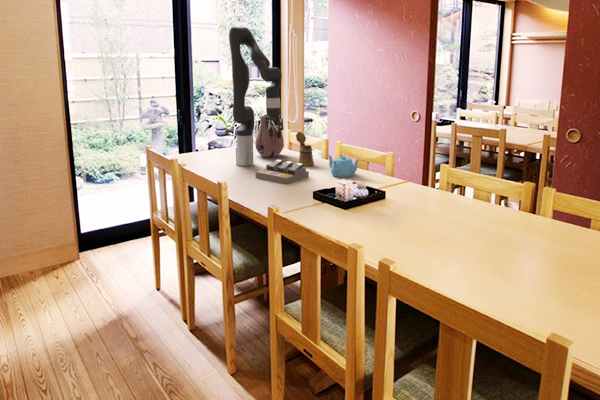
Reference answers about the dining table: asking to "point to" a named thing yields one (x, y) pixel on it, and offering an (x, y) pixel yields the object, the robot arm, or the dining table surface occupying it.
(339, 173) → the teapot
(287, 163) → the rocker
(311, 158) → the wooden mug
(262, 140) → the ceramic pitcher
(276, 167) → the switch unit
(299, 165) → the rocker
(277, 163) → the rocker
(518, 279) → the dining table surface
